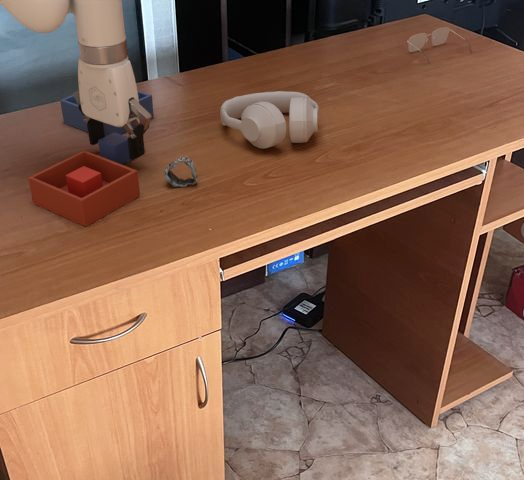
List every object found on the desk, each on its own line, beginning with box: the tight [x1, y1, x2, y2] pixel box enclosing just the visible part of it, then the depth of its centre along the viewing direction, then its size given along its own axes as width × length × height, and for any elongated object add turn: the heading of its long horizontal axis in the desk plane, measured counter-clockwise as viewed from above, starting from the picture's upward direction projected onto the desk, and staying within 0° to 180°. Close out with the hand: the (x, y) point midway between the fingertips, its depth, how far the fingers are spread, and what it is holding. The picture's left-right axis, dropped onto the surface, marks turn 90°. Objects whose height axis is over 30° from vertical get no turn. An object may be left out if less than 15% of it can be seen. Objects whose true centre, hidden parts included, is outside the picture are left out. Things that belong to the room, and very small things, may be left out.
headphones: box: [219, 90, 320, 149], centre depth 146 cm, size 18×8×20 cm
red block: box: [66, 166, 103, 198], centre depth 127 cm, size 4×4×4 cm
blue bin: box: [59, 90, 155, 137], centre depth 150 cm, size 12×12×5 cm
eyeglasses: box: [406, 26, 473, 64], centre depth 180 cm, size 14×8×4 cm, turn 124°
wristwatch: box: [164, 155, 198, 188], centre depth 131 cm, size 3×5×5 cm
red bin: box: [27, 149, 141, 228], centre depth 127 cm, size 12×12×5 cm
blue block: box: [98, 132, 132, 165], centre depth 138 cm, size 4×4×4 cm
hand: (117, 149), depth 138 cm, fingers open, 9 cm apart
